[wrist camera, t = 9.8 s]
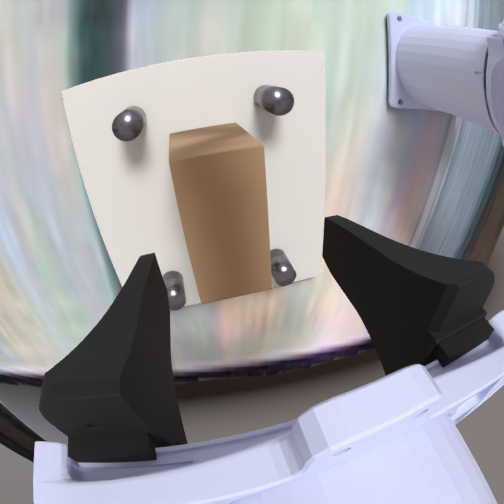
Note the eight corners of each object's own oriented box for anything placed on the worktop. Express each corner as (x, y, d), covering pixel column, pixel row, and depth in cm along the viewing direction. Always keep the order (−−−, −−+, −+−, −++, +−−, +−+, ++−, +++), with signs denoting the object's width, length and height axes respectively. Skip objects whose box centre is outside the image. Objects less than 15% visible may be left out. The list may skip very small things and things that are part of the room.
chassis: (316, 51, 16) (344, 50, 13) (314, 267, 27) (332, 294, 24) (67, 89, 14) (46, 95, 11) (136, 306, 24) (135, 338, 21)
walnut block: (235, 122, 17) (263, 146, 12) (246, 233, 22) (272, 288, 17) (169, 133, 16) (168, 162, 12) (191, 245, 21) (201, 304, 16)
